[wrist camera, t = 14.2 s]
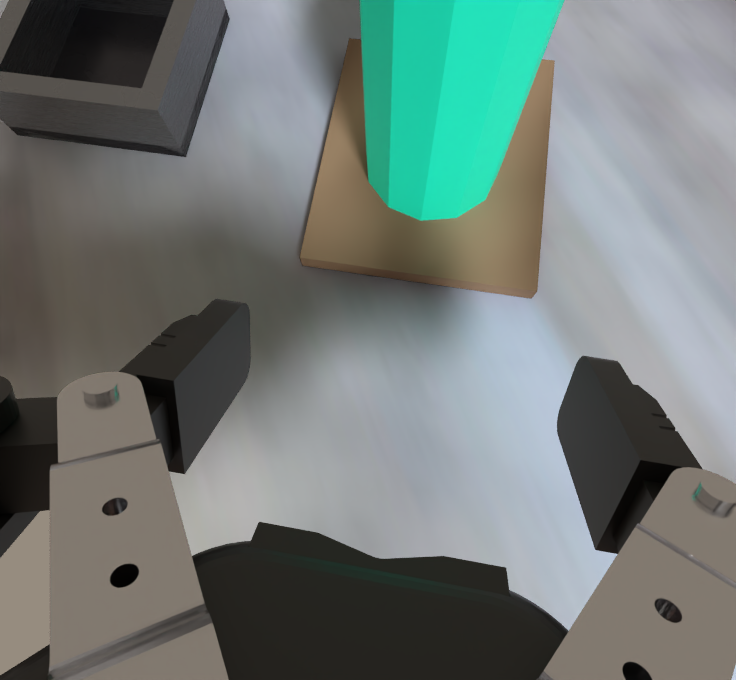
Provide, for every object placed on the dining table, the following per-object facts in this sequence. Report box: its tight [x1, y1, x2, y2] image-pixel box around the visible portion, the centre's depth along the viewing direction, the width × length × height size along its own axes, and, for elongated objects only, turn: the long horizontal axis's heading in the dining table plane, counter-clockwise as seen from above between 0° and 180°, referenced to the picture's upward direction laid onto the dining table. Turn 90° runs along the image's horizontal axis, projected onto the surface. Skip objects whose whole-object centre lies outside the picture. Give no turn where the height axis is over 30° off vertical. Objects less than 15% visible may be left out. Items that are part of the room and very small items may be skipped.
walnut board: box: [300, 38, 555, 298], centre depth 22 cm, size 10×12×1 cm
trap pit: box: [0, 0, 229, 157], centre depth 23 cm, size 9×9×3 cm
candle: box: [359, 0, 564, 221], centre depth 16 cm, size 6×6×12 cm
